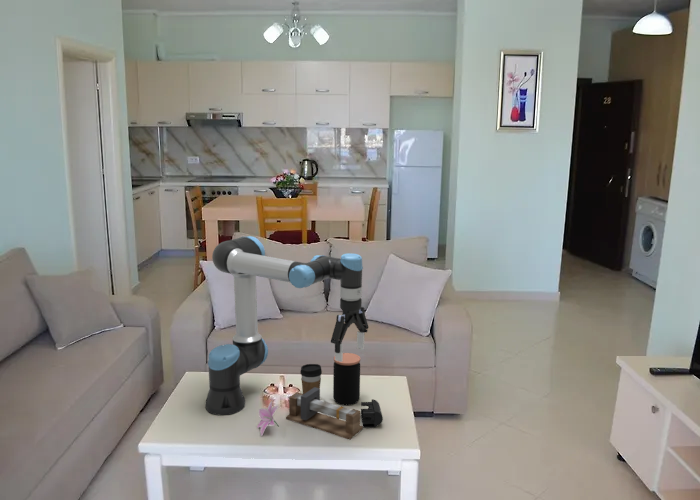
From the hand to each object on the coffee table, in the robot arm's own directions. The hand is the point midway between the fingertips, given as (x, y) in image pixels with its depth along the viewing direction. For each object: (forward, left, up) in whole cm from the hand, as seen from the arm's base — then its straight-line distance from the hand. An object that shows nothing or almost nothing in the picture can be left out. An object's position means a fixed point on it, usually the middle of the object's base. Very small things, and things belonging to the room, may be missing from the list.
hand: (349, 354), depth 216 cm
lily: (-23, -18, -28) cm, 41 cm away
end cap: (+6, +7, -28) cm, 29 cm away
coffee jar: (-11, +17, -28) cm, 34 cm away
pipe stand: (-8, -4, -28) cm, 29 cm away
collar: (-14, -4, -26) cm, 30 cm away
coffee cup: (-22, +8, -28) cm, 36 cm away
